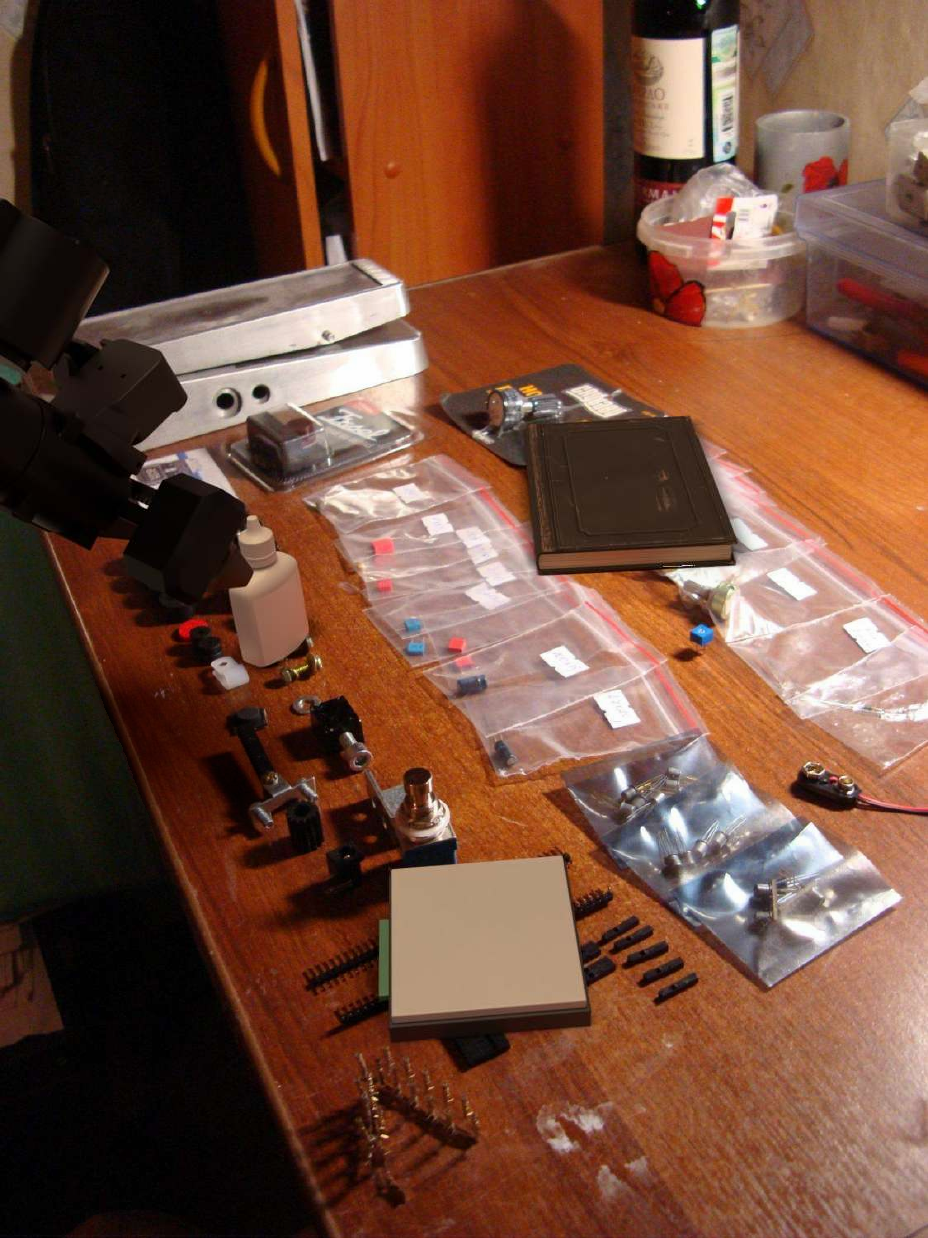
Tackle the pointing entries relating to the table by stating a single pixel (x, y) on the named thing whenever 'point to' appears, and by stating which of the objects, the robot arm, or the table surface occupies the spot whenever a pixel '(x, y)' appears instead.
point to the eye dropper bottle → (268, 600)
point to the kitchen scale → (481, 950)
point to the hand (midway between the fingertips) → (199, 555)
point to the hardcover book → (623, 496)
